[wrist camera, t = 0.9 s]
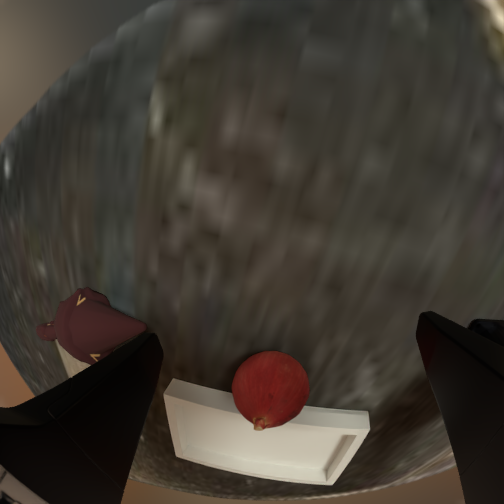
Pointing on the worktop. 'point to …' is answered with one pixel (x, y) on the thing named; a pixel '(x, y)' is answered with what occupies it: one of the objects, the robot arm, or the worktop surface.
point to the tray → (262, 437)
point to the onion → (270, 389)
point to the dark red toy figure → (89, 326)
